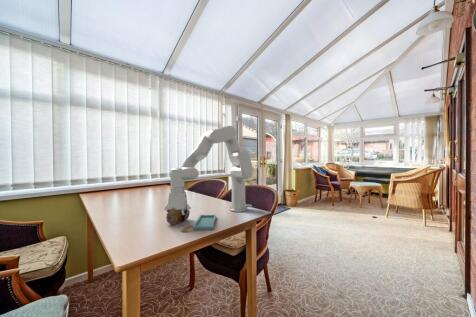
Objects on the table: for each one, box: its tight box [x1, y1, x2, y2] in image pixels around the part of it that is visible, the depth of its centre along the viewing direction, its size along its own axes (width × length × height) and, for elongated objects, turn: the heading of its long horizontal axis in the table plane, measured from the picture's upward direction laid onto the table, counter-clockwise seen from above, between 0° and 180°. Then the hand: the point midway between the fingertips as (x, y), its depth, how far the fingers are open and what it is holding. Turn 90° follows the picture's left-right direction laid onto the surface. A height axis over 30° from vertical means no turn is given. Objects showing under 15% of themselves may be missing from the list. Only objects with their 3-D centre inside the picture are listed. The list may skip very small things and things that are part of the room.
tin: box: [165, 208, 190, 225], centre depth 118 cm, size 15×3×8 cm, turn 146°
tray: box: [192, 214, 217, 231], centre depth 116 cm, size 10×21×2 cm, turn 1°
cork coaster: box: [179, 225, 195, 233], centre depth 107 cm, size 8×8×1 cm
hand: (177, 221), depth 117 cm, fingers closed on tin, 5 cm apart
